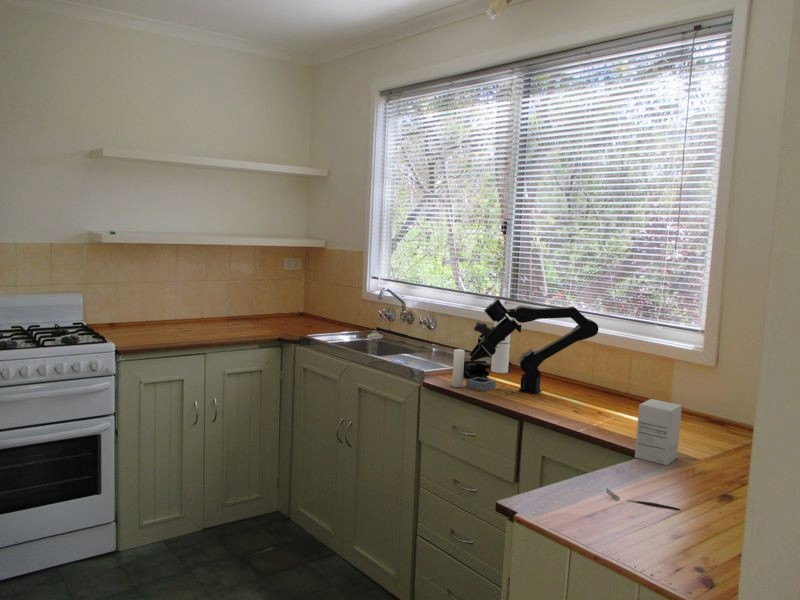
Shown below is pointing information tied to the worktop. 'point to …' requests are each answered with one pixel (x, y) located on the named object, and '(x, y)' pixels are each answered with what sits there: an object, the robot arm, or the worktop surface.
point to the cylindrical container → (501, 354)
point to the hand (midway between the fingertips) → (470, 357)
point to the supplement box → (658, 431)
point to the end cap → (475, 369)
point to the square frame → (481, 383)
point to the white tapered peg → (458, 368)
